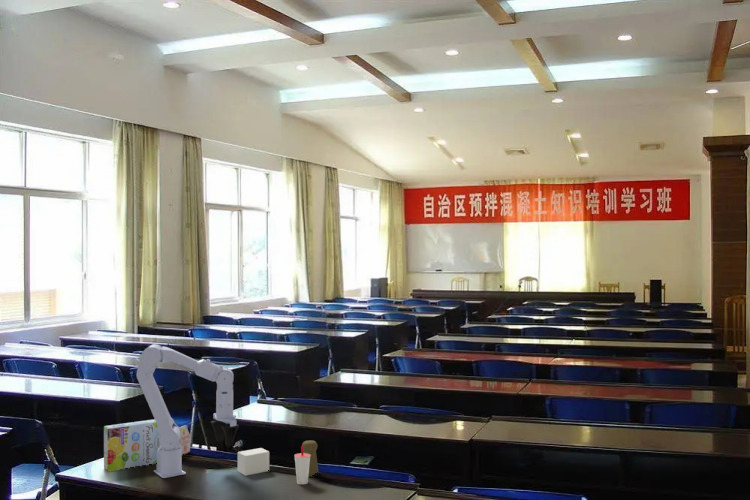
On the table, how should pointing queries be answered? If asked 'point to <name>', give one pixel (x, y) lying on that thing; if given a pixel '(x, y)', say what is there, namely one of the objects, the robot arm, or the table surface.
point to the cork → (311, 449)
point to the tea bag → (185, 440)
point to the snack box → (130, 445)
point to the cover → (253, 461)
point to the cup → (302, 467)
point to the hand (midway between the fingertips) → (224, 443)
